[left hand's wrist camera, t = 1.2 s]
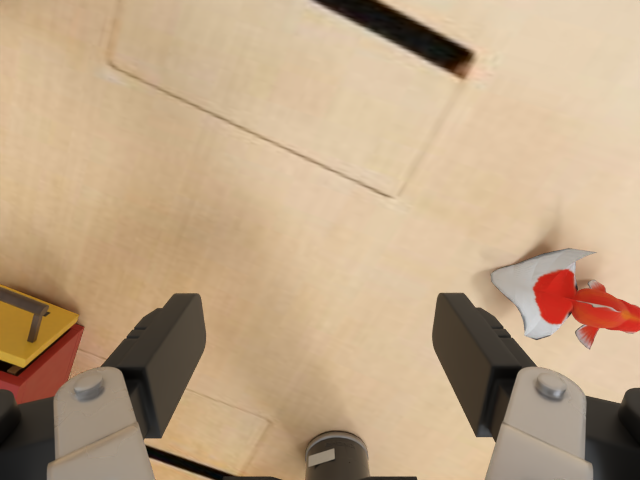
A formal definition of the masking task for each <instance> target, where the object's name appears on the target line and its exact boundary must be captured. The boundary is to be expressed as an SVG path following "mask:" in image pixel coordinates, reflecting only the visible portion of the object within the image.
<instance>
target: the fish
mask: <svg viewBox="0 0 640 480" xmlns="http://www.w3.org/2000/svg"><path fill="white" fill-rule="evenodd" d="M593 253H597V252H590V251H583V250H577V249H570V248H568V249H564V250H559V251H554V252H549V253H544V254H541V255H538V256H536V257H533V258H530V259H528V260H525V261H523V262H520V263H517V264H515V265H511V266H506V267H503V268H500V269H497V270H495V271H493V272H492V273H491V281H492V283H493V284H494V285H495V286H496V287H497V288H498V289H499V290H500V291H501V292H502V293H503V294H504V295H505V296H506V297H507V298H508V299H509V300H510V301H512V302H513V303H514V304H515V305H516V307H517V308H518V310H519V311H520V313H521V316H522V319H523V322H524V330H525V336H527V337H530V338H532V339H535V340H538V339H541V338H545V337H548V336H550V335H552V334H553V333H554V332H555V331H557V330H558V329H559V327H560V326H561V325H562V324H563V323H564V322H565V320H566V319H567V318H568V317H569V316H570V314H571V313H572V315H573V316H574V318H575V319H576V320H577V321H578V322H580V323H582V324H584V325H583V326H581V327H580V328H578V329H577V330H576V332H575V333H576V336H577V337H578V339H579V341H580V342H581V343H582V344H583V345H584V346H585V347H587V348H588V349H590V347H591V345H592V343H593V341H594V338H595V336H596V334H597V331H598V330H599V328H606V329H609V330H620V331H624V332H626V333H635V332H637V331H639V330H640V308H639V307H638V306H636V305H631V304H629V303H627V302H625V301H623V300H620V299H617V298H615V297H614V296H612V295H610V294H608V293H606V289H605V287H604V286H603V285H602V284H600V283H599V282H597V281H596V280H591V281H589V282H588V285H589V287H590V289H589V288H586V289H581V290H579V291H578V292H577V290H578V288H577V283H576V277H575V268H576V261H577V260H579V259H581V258H583V257H585V256H588V255H590V254H593Z"/></svg>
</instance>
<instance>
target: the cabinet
mask: <svg viewBox="0 0 640 480" xmlns="http://www.w3.org/2000/svg"><path fill="white" fill-rule="evenodd" d="M83 330H84V327H83V326H81V325H78V324H74V325H73V326H71V327H70V328H69V329H68V330H67V331H66V332H64V335H63V337H62V338H61V339H60V340H58V341H57V342H56V343H55V344H54V345H53V346H52V347H50V348H49V349H48V350H47V351H46V352H45V353H44V354H42V355H41V356H40V357H39V358H38V359H37V360H36V361H34V362H33V363H32V364H31V365H30V366H29V367H28V368H27V369H25V370H24V371H23V372H22V373H21V374H20V375H19V376H18V377H17V376H14V375H12V374H9V373H6V372H3V371H0V389H5V390H9V391H11V392H12V393H13V395H14V397H15V400H16V402H17V404H22V403H27V402H31V401H36V400H40V399H44V398H49V397H53V396H55V394H56V392H57V391H58V390H59V388H60V387H61V386H62V385H63V384H65V383H66V382H67V380H68V377H69V374H70V371H71V368H72V365H73V362H74V358H75V355H76V352H77V349H78V346H79V343H80V339H81V336H82V333H83Z"/></svg>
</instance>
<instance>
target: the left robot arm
mask: <svg viewBox="0 0 640 480" xmlns="http://www.w3.org/2000/svg"><path fill="white" fill-rule="evenodd" d="M432 340H433V346H434V350H435V352H436V354H437V356H438V359H439V361H440V363H441V365H442V367H443V369H444V371H445V373H446V375H447V377H448V379H449V381H450V383H451V386H452V388H453V390H454V392H455V394H456V396H457V398H458V400H459V402H460V404H461V406H462V408H463V410H464V413H465V415H466V417H467V419H468V421H469V423H470V425H471V427H472V429H473V431H474V433H475V435H476V437H493V439H494V441H495V442H496V444H495V447H494V451H493V454H492V457H491V460H490V464H489V467H488V470H487V474H486V477H485V480H640V388H632V389H629V390H627V391H626V393H625V395H624V398H623V400H622V403H621V404H620V403H616V402H611V401H607V400H602V399H598V398H593V397H589V396H585V394H584V392H583V391H582V390H581V388H580V387H579V386H578V385H577V384H575V383H574V382H573V381H572V380H570V379H569V378H567V377H565V376H564V375H562V374H560V373H558V372H555V371H553V370H550V369H546V368H542V367H537V366H536V365H535V363H534V362H533V361H532V360H531V359H530V358H529V356H528V355H527V354H526V353H525V352H524V350H523V349H522V348H521V347H520V346H519V345H518V343H517V342H516V341H515V340H514V339H513V338H511V335H510V334H509V333H508V332H507V331H506V329H503V326H502V325H501V324H500V322H499V321H498V320H497V319H496V318H495V317H494V316H493V315H491V314H490V313H488V312H487V311H485V310H483V309H482V308H475V306H474V305H473V304H472V303H471V301H470V300H469V299H468V298H467V296H466V295H465V294H464V293H440V294H439V295H438V297H437V303H436V310H435V317H434V324H433V332H432ZM205 343H206V330H205V323H204V316H203V309H202V302H201V297H200V295H199V294H197V293H176V294H174V295H173V296H172V297H171V298H170V299H169V301H168V302H167V303H166V304H165V306H164V307H163V308H157V309H156V310H154V311H152V312H151V313H149V314H148V315H146V316H145V317H143V318H142V319H141V321H140V322H139V323H138V324H137V325H136V326H135V327H134V330H132V331H131V332H130V333H129V334H128V336H127V339H124V340H123V341H122V343H121V344H120V345H119V346H118V347H117V348H116V350H115V351H114V352H113V353H112V354H111V355H110V356H109V358H108V359H107V360H106V361H105V362H104V363H103V365H102V366H101V367H98V368H94V369H90V370H87V371H85V372H82V373H80V374H78V375H76V376H75V377H73V378H71V379H70V380H68V381H67V382H66V383H65V384H63V385H62V386H61V387H60V388H59V390H58V391H57V392H56V394H55V396H53V397H49V398H44V399H40V400H36V401H31V402H27V403H22V404H17V402H16V400H15V397H14V395H13V393H12V392H11V391H9V390H5V389H0V480H155V477H154V474H153V470H152V467H151V464H150V460H149V457H148V454H147V451H146V447H145V444H144V441H143V440H144V439H145V438H162V436H163V433H164V431H165V429H166V427H167V425H168V423H169V421H170V419H171V417H172V415H173V413H174V411H175V409H176V407H177V405H178V403H179V401H180V399H181V397H182V395H183V392H184V390H185V388H186V386H187V384H188V382H189V380H190V378H191V376H192V374H193V372H194V370H195V368H196V366H197V364H198V362H199V360H200V358H201V356H202V354H203V351H204V348H205ZM305 461H306V473H305V480H417V477H370V472H369V464H368V452H367V448H366V445H365V444H364V442H363V441H362V440H361V439H359V438H358V437H356V436H355V435H352V434H349V433H346V432H329V433H325V434H322V435H319V436H318V437H316V438H314V439H313V440H312V441H311V442H310V443H309V445H308V446H307V449H306V457H305ZM223 480H281V479H278V478H274V477H223Z"/></svg>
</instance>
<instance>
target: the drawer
mask: <svg viewBox="0 0 640 480" xmlns="http://www.w3.org/2000/svg"><path fill="white" fill-rule="evenodd" d="M78 316H79V315H78V314H76V313H73V312H71V311H68V310H65V309H63V308H60V307H58V306H55V305H53V304H50V303H47V302H45V301H42V300H40V299H37V298H35V297H32V296H30V295H27V294H24V293H22V292H19V291H17V290H14V289H12V288H9V287H6V286H4V285H1V284H0V371H3V372H6V373H9V374H12V375H14V376H17V377H18V376H19V375H20V374H21V373H22V372H23V371H24V370H25V369H27V368H28V367H29V366H30V365H31V364H32V363H33V362H34V361H36V360H37V359H38V358H39V357H40V356H41V355H42V354H44V353H45V352H46V351H47V350H48V349H49V348H50V347H52V346H53V345H54V344H55V343H56V342H57V341H58V340H60V339H61V338H62V337H63V335H64V332H66V331H67V330H68V329H69V328H70V327H71V326H73V325H74V324H75V323H76V322H77V320H78Z"/></svg>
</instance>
